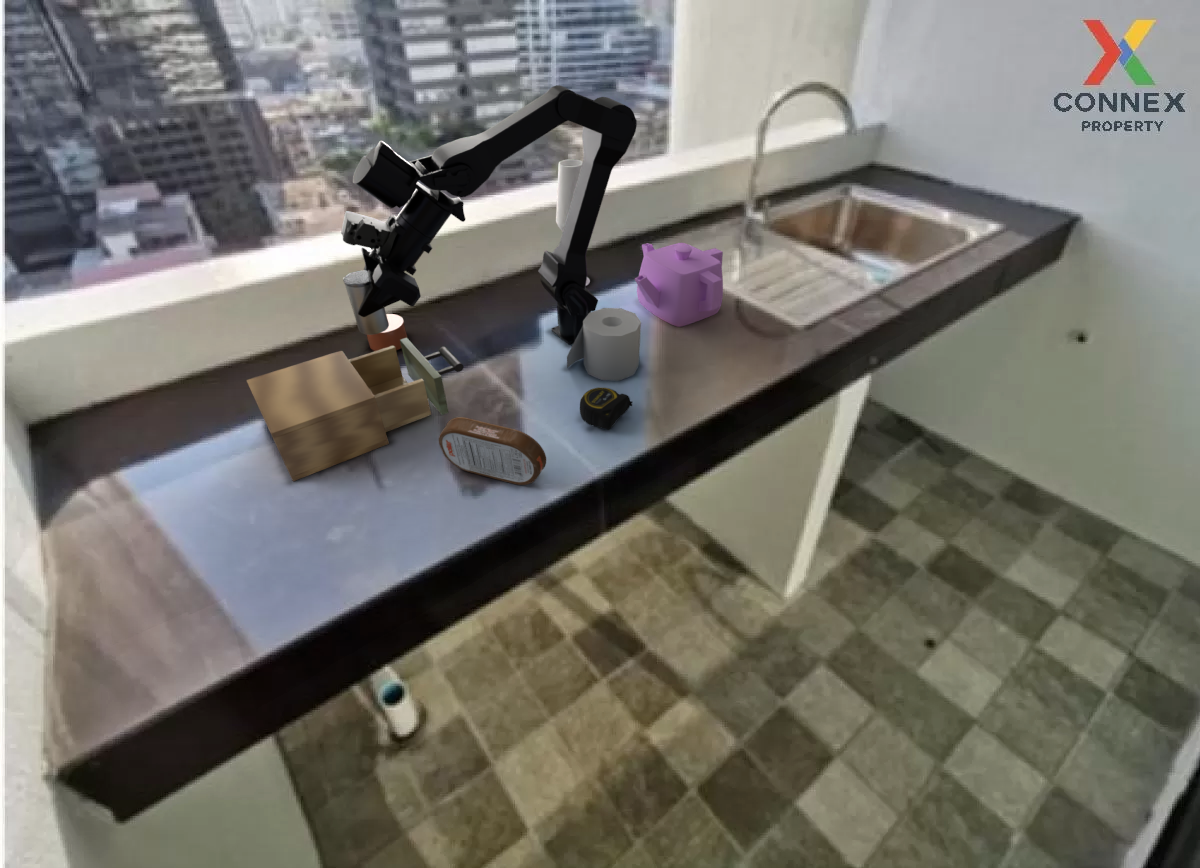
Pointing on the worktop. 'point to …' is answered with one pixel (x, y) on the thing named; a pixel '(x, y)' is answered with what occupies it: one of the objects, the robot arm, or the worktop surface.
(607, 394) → the tape measure
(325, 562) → the worktop surface
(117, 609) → the worktop surface
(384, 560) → the worktop surface
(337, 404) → the cabinet
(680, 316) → the teakettle
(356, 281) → the cylinder
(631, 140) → the robot arm
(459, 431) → the tin
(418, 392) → the drawer
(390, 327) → the stand
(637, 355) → the toilet tissue
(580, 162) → the champagne flute
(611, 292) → the worktop surface
